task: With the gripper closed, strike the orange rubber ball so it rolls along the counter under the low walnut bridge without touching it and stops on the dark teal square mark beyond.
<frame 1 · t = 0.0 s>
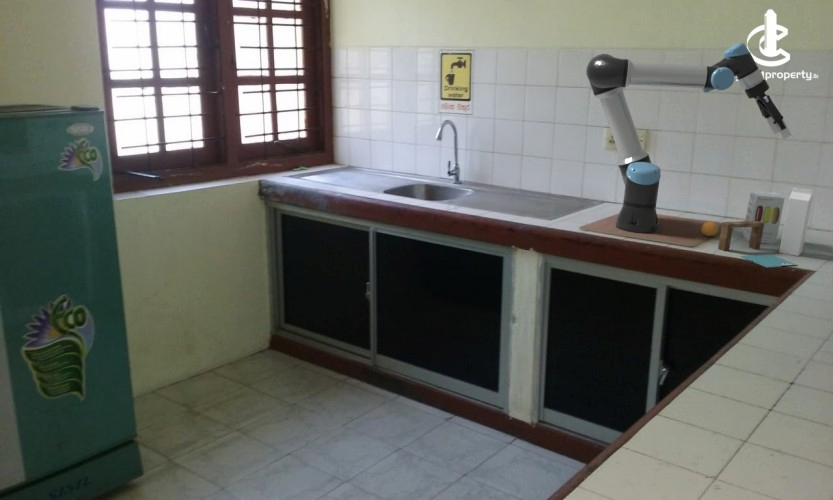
hand: (782, 134, 270), 36 cm above the counter, tool tilted 35°, fingers open, 13 cm apart
ball: (709, 228, 267), on the counter
supplement box: (758, 240, 266), on the counter
milk: (790, 253, 251), on the counter
bridge: (738, 248, 253), on the counter
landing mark: (768, 261, 241), on the counter
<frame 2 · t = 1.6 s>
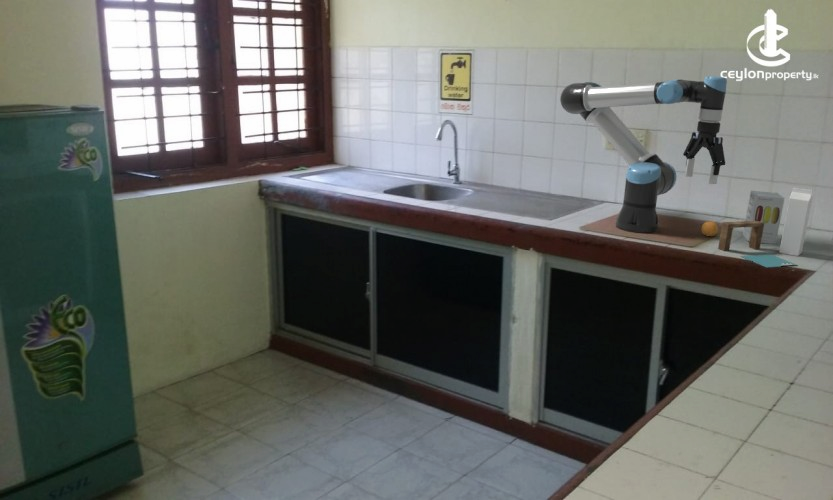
hand: (700, 180, 271), 19 cm above the counter, tool pointing down, fingers open, 13 cm apart
nothing on the counter moved.
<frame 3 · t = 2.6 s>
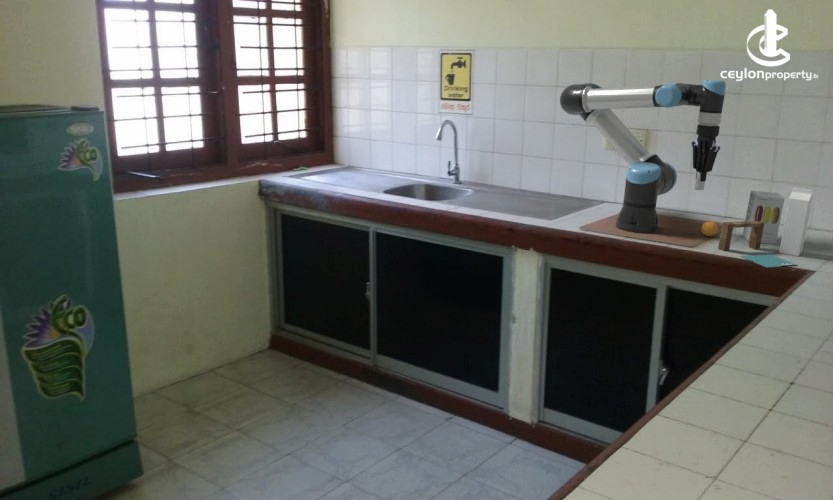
hand: (699, 189, 272), 15 cm above the counter, tool pointing down, fingers closed
nothing on the counter moved.
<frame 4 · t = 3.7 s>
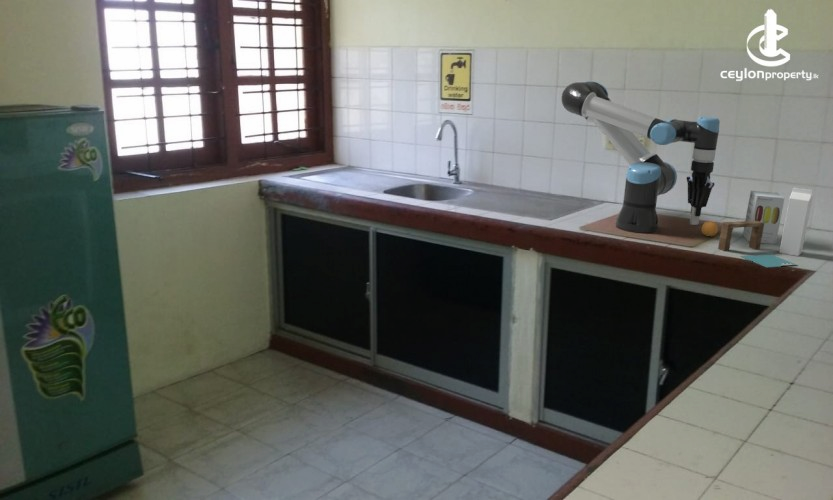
hand: (694, 224, 275), 2 cm above the counter, tool pointing down, fingers closed
nothing on the counter moved.
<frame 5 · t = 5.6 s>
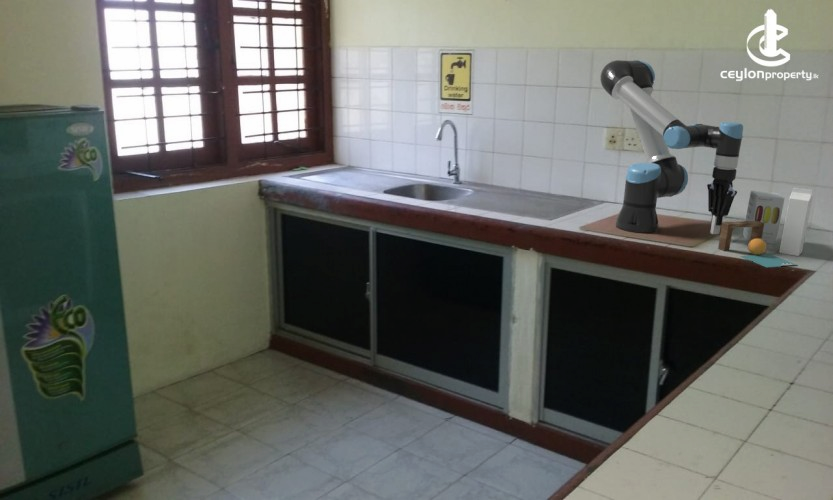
hand: (714, 233, 265), 2 cm above the counter, tool pointing down, fingers closed
ball: (757, 246, 246), on the counter
everything else where it was.
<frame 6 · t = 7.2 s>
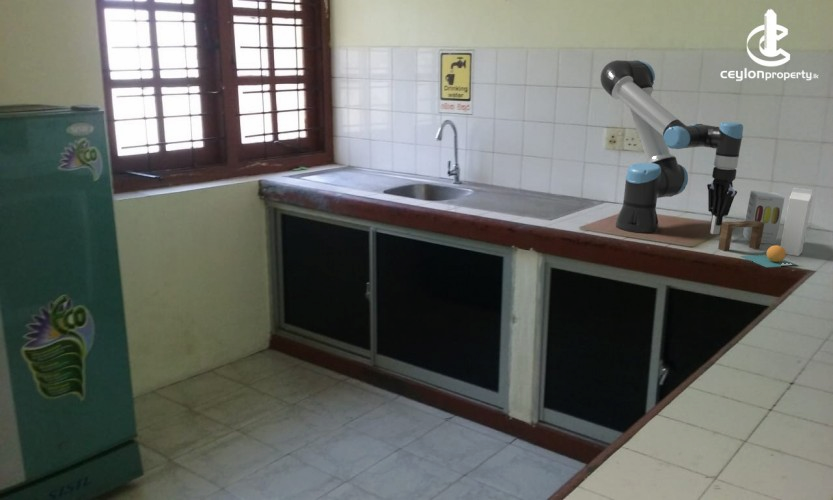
hand: (714, 233, 265), 2 cm above the counter, tool pointing down, fingers closed
ball: (776, 253, 239), on the counter
everything else where it was.
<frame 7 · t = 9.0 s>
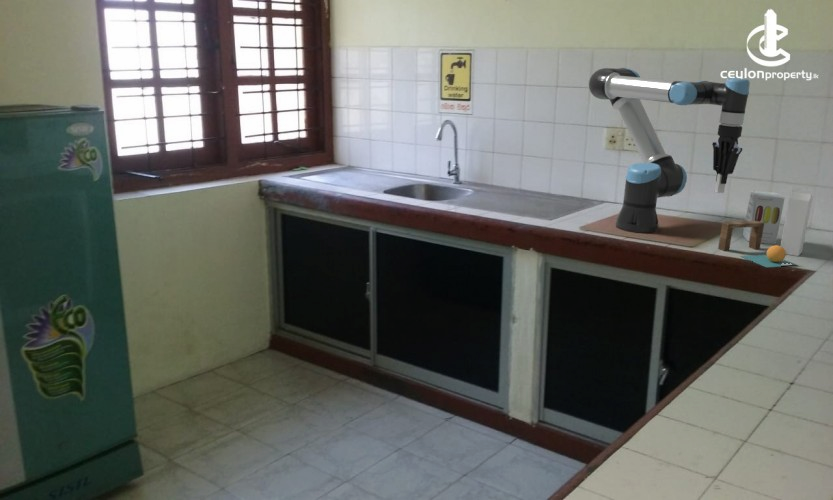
hand: (719, 192, 262), 17 cm above the counter, tool pointing down, fingers closed
nothing on the counter moved.
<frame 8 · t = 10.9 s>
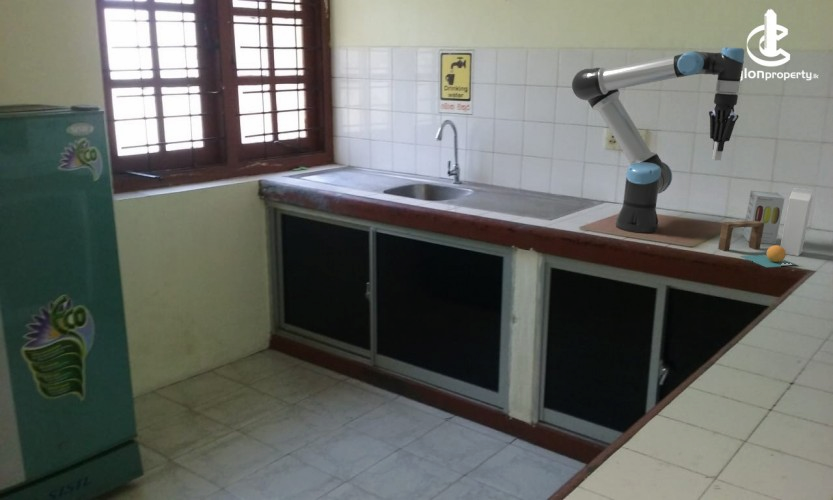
hand: (716, 159, 268), 26 cm above the counter, tool pointing down, fingers closed
nothing on the counter moved.
at the end: ball 1.7 cm from the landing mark (horizontally); ball never touched bridge; ball at rest at the end (0.0 cm/s) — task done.
